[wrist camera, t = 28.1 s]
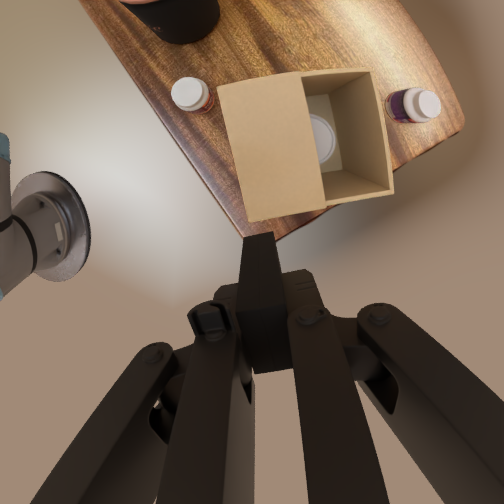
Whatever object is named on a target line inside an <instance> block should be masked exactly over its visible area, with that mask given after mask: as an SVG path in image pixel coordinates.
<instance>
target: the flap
mask: <svg viewBox="0 0 504 504" xmlns="http://www.w3.org/2000/svg"><path fill="white" fill-rule="evenodd" d="M216 88H217V92H218V96H219V100H220V104H221V108H222V113H223V117H224V121H225V125H226V129H227V134H228V138H229V142H230V146H231V150H232V155H233V159H234V163H235V167H236V172H237V176H238V180H239V184H240V188H241V193H242V197H243V201H244V205H245V210H246V214H247V218H248V222H249V223H252V222H256V221H261V220H266V219H271V218H276V217H281V216H287V215H292V214H297V213H302V212H307V211H313V210H318V209H323V208H326V201H325V195H324V188H323V182H322V176H321V171H320V165H319V159H318V154H317V149H316V144H315V138H314V134H313V129H312V124H311V119H310V115H309V110H308V106H307V101H306V97H305V93H304V89H303V84H302V80H301V76H300V73H299V71H294V72H287V73H281V74H275V75H269V76H263V77H258V78H253V79H248V80H243V81H239V82H234V83H230V84H226V85H222V86H218V87H216Z"/></svg>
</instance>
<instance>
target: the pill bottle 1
mask: <svg viewBox="0 0 504 504" xmlns="http://www.w3.org/2000/svg"><path fill="white" fill-rule="evenodd" d="M171 96H172V99H173V101H174V102H175V104H176V105H177V106H178V107H179V108H180V109H182V110H185V111H187V112H190V113H192V114H203V113H206V112H207V111H209V110H210V109H211V108H212V106H213V104H214V94H213V92H212V90H211V89H210V88H209V87H208V86H207V85H206V84H205V83H204V82H203V81H202V80H200V79H197V78H193V77H184V78H182V79H180V80H178V81H177V82H176V83H175V84H174V85H173V87H172V91H171Z"/></svg>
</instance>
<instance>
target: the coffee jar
mask: <svg viewBox="0 0 504 504" xmlns="http://www.w3.org/2000/svg"><path fill="white" fill-rule="evenodd" d="M119 2H120V3H122V4H123V5H124V6H125V7H126V8H127V9H129V10H130V11H131V12H132V13H133V14H134V15H136V16H137V17H138V18H139V19H140V20H141V21H142V22H143V23H145V24H146V25H147V26H148V27H149V28H150V29H151V30H152V31H153V32H154V33H155V34H157V35H158V36H159V37H160V38H161V39H162V40H164V41H166V42H169V43H175V44H184V43H190V42H193V41H196V40H198V39H200V38H202V37H204V36H205V35H206V34H208V33H209V32H210V31H211V30H212V29H213V28H214V26H215V25H216V24H217V21H218V19H219V16H220V10H219V4H218V1H217V0H119Z"/></svg>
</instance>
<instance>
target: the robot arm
mask: <svg viewBox="0 0 504 504" xmlns="http://www.w3.org/2000/svg"><path fill="white" fill-rule="evenodd" d="M10 164H11V160H10V154H9V139H8V137H7V136H6V135H5V134H3V133H0V301H1V300H2V299H3V297H4V296H5V295H6V294H8V293H9V292H10V291H11V290H12V289H13V288H14V287H16V286H17V285H18V284H19V283H20V282H22V281H23V280H24V279H25V278H26V277H28V276H29V275H30V274H31V273H32V272H37V271H41V270H46V269H50V268H53V267H55V266H57V265H58V264H59V263H60V262H62V261H63V260H64V258H65V257H66V255H67V253H68V250H69V246H70V230H69V225H68V222H67V219H66V216H65V214H64V212H63V210H62V209H61V207H60V206H59V204H58V203H57V202H56V201H55V200H54V199H53V198H52V197H50V196H49V195H47V194H44V193H33V194H31V195H28V196H26V197H25V198H23V199H22V200H21V201H20V202H19V203H18V204H17V205H16V206H15V207H14V209H13V210H12V207H11V193H10ZM187 317H188V319H189V322H190V324H191V327H192V329H193V332H194V334H195V336H196V337H195V341H194V343H193V344H191V345H189V346H186V347H183V348H180V349H177V350H174V351H173V349H172V347H171V346H170V345H169V344H168V343H164V342H156V343H152V344H149V345H148V346H146V347H144V348H142V349H141V350H140V351H139V352H138V353H137V354H136V356H135V357H134V358H133V360H132V361H131V362H130V364H129V365H128V366H127V368H126V369H125V370H124V372H123V373H122V374H121V376H120V377H119V378H118V380H117V381H116V382H115V384H114V385H113V386H112V388H111V389H110V390H109V392H108V393H107V394H106V396H105V397H104V398H103V400H102V401H101V402H100V404H99V406H98V407H97V408H96V409H95V411H94V412H93V413H92V415H91V416H90V418H89V419H88V420H87V422H86V423H85V424H84V426H83V427H82V429H81V430H80V431H79V433H78V434H77V436H76V437H75V438H74V440H73V441H72V443H71V444H70V445H69V447H68V448H67V450H66V451H65V453H64V454H63V456H62V457H61V458H60V460H59V461H58V463H57V464H56V465H55V467H54V468H53V470H52V471H51V473H50V474H49V476H48V477H47V479H46V480H45V482H44V483H43V485H42V486H41V488H40V489H39V491H38V492H37V494H36V495H35V497H34V498H33V500H32V501H31V503H30V504H153V503H154V501H155V499H156V497H157V500H156V504H254V463H255V462H254V461H255V457H254V456H255V455H254V454H255V450H254V449H255V384H254V381H253V378H252V368H253V371H254V374H261V373H267V372H274V371H280V370H285V369H292V368H293V370H294V378H295V385H296V393H297V401H298V409H299V417H300V426H301V434H302V443H303V452H304V461H305V471H306V480H307V490H308V501H309V504H390V503H389V499H388V495H387V491H386V487H385V483H384V479H383V475H382V472H381V468H380V465H379V461H378V457H377V454H376V450H375V447H374V443H373V439H372V437H371V433H370V429H369V426H368V423H367V420H366V416H365V413H364V410H363V407H362V403H361V400H360V397H359V394H358V391H357V388H356V385H355V382H354V381H357V382H358V384H359V385H360V387H361V388H362V389H363V391H364V392H365V394H366V395H367V396H368V398H369V399H370V400H371V402H372V403H373V405H374V406H375V407H376V409H377V410H378V412H379V413H380V414H381V416H382V417H383V418H384V420H385V421H386V423H387V424H388V425H389V427H390V428H391V429H392V431H393V432H394V434H395V435H396V436H397V438H398V439H399V441H400V442H401V443H402V445H403V446H404V447H405V449H406V450H407V452H408V453H409V454H410V456H411V457H412V458H413V460H414V461H415V463H416V464H417V465H418V467H419V468H420V470H421V471H422V473H423V474H424V475H425V477H426V478H427V480H428V481H429V482H430V484H431V485H432V486H433V488H434V489H435V491H436V492H437V493H438V495H439V496H440V498H441V499H442V501H443V502H444V503H445V504H504V402H503V401H502V400H501V399H500V398H499V397H498V396H497V395H496V394H495V393H494V392H493V391H492V390H491V389H490V388H489V387H488V386H486V385H485V384H484V383H483V382H482V381H481V380H480V379H479V378H478V377H477V376H476V375H474V374H473V373H472V372H471V371H470V370H469V369H468V368H467V367H466V366H464V365H463V364H462V363H461V362H460V361H459V360H458V359H457V358H455V357H454V356H453V355H452V354H451V353H450V352H449V351H448V350H446V349H445V348H444V347H443V346H442V345H441V344H440V343H438V342H437V341H436V340H435V339H434V338H433V337H431V336H430V335H429V334H428V333H427V332H425V331H424V330H423V329H422V328H421V327H419V326H418V325H417V324H416V323H415V322H413V321H412V320H411V319H410V318H409V317H407V316H406V315H405V314H404V313H403V312H401V311H400V310H399V309H398V308H396V307H394V306H392V305H391V304H386V303H374V304H370V305H367V306H365V307H364V308H362V309H361V310H360V311H359V313H358V314H357V318H341V317H337V316H334V315H331V314H330V312H329V311H328V309H327V308H325V307H324V305H323V302H322V299H321V297H320V293H319V291H318V288H317V286H316V283H315V280H314V278H313V275H312V273H310V272H309V271H307V270H306V269H302V270H297V271H292V272H287V273H282V272H281V267H280V262H279V258H278V252H277V247H276V242H275V237H274V233H273V231H272V232H267V233H262V234H257V235H252V236H248V237H244V239H243V248H242V257H241V265H240V274H239V282H238V283H234V284H229V285H223V286H221V287H220V288H219V289H218V290H217V291H216V292H215V294H214V298H213V300H210V301H206V302H203V303H201V304H199V305H197V306H195V307H194V308H192V309H191V310H190V311H189V313H188V314H187ZM157 400H158V401H159V404H158V405H157V406H156V407H155V408H154V407H153V406H154V404H155V403H156V401H157Z"/></svg>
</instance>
